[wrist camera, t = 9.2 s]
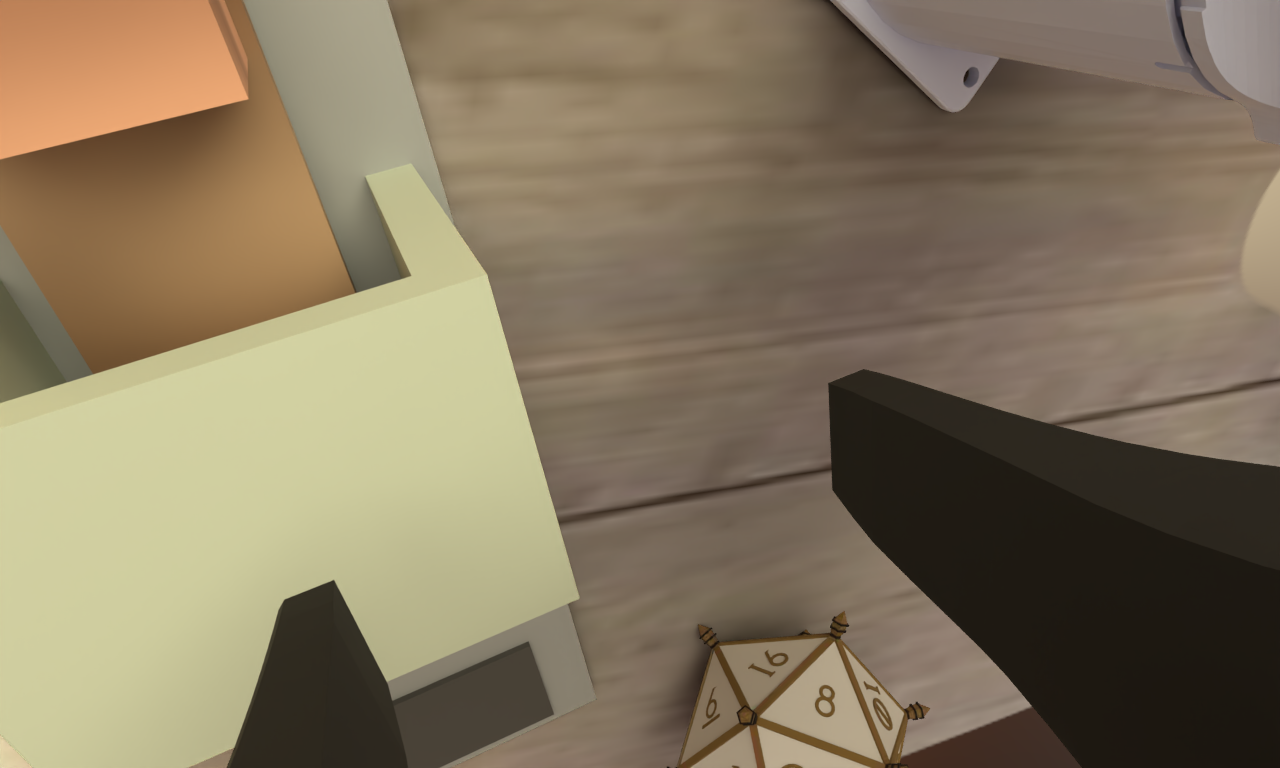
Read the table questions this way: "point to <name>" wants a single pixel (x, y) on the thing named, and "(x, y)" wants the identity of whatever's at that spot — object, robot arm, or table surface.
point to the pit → (472, 708)
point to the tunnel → (264, 504)
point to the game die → (793, 706)
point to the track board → (351, 241)
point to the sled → (155, 175)
